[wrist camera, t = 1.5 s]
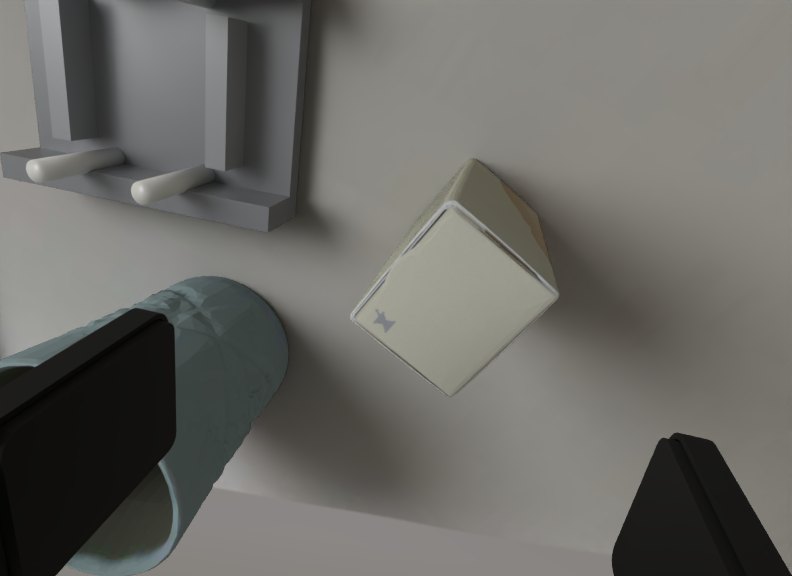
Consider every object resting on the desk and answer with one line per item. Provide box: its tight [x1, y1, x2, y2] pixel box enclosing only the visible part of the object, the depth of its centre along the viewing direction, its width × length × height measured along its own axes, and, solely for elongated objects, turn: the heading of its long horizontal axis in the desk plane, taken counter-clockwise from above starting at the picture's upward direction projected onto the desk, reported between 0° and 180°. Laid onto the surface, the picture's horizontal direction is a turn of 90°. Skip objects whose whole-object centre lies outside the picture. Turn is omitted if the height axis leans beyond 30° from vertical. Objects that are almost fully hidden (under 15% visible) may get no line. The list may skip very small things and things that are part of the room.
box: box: [350, 158, 559, 397], centre depth 21 cm, size 5×4×11 cm
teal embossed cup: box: [0, 276, 289, 576], centre depth 26 cm, size 10×10×12 cm
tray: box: [0, 0, 311, 233], centre depth 23 cm, size 14×11×6 cm
